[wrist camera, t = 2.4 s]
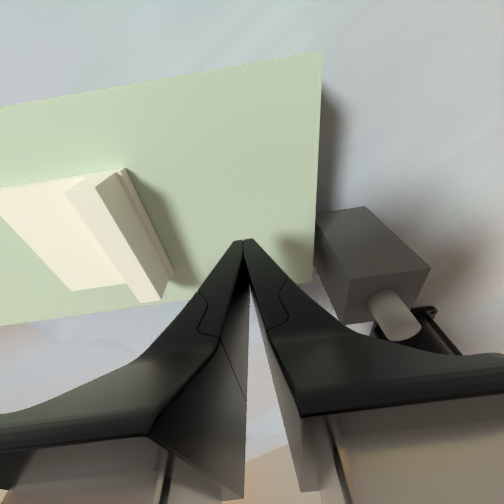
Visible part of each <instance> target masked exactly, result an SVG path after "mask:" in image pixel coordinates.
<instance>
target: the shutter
mask: <svg viewBox="0 0 504 504" xmlns="http://www.w3.org/2000/svg"><path fill="white" fill-rule="evenodd" d="M0 216H1V217H2V218H3V219H4V220H5V221H6V222H7V223H8V224H9V225H10V226H11V227H12V228H13V230H14V231H15V232H16V233H17V234H18V235H19V236H20V237H21V238H22V239H23V240H24V241H25V242H26V243H27V244H28V245H29V247H30V248H31V249H32V250H33V251H34V252H35V253H36V254H37V255H38V256H39V257H40V258H41V259H42V260H43V261H44V262H45V264H46V265H47V266H48V267H49V268H50V269H51V270H52V271H53V272H54V273H55V274H56V275H57V276H58V277H59V278H60V279H61V281H62V282H63V283H64V284H65V285H66V286H67V287H68V288H69V289H70V290H71V291H77V290H84V289H91V288H98V287H105V286H112V285H119V284H126V283H127V285H128V286H129V288H130V289H131V291H132V292H133V294H134V295H135V296H136V298H137V299H138V301H139V302H140V303H145V302H152V301H159V300H162V297H163V295H164V292H165V289H166V286H167V283H168V280H169V277H173V274H174V269H173V267H172V265H171V263H170V261H169V259H168V257H167V255H166V253H165V251H164V249H163V246H162V244H161V242H160V240H159V238H158V236H157V234H156V232H155V230H154V228H153V226H152V224H151V221H150V219H149V217H148V215H147V213H146V211H145V209H144V207H143V205H142V203H141V201H140V198H139V196H138V194H137V192H136V190H135V188H134V186H133V184H132V182H131V180H130V178H129V176H128V173H127V171H126V169H125V168H120V169H114V170H108V171H101V172H95V173H89V174H83V175H77V176H71V177H64V178H58V179H52V180H46V181H40V182H34V183H27V184H21V185H15V186H9V187H3V188H0Z"/></svg>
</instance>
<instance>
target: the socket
mask: <svg viewBox="0 0 504 504" xmlns="http://www.w3.org/2000/svg"><path fill="white" fill-rule="evenodd" d="M322 65H323V51H318V52H312V53H307V54H301V55H295V56H289V57H284V58H278V59H272V60H266V61H261V62H255V63H249V64H244V65H238V66H232V67H226V68H221V69H215V70H209V71H203V72H198V73H192V74H186V75H180V76H175V77H169V78H163V79H157V80H152V81H146V82H140V83H135V84H129V85H123V86H117V87H112V88H106V89H100V90H94V91H89V92H83V93H77V94H71V95H66V96H60V97H54V98H48V99H43V100H37V101H31V102H26V103H20V104H14V105H8V106H3V107H0V188H3V187H9V186H15V185H21V184H27V183H34V182H40V181H46V180H52V179H58V178H64V177H71V176H77V175H83V174H89V173H95V172H101V171H108V170H114V169H120V168H125V169H126V171H127V173H128V176H129V178H130V180H131V182H132V184H133V186H134V188H135V190H136V192H137V194H138V196H139V198H140V201H141V203H142V205H143V207H144V209H145V211H146V213H147V215H148V217H149V219H150V221H151V224H152V226H153V228H154V230H155V232H156V234H157V236H158V238H159V240H160V242H161V244H162V246H163V249H164V251H165V253H166V255H167V257H168V259H169V261H170V263H171V265H172V267H173V269H174V274H173V277H169V280H168V283H167V286H166V289H165V292H164V295H163V297H162V300H159V301H152V302H145V303H140V302H139V301H138V299H137V298H136V296H135V295H134V294H133V292H132V291H131V289H130V288H129V286H128V285H127V283H126V284H119V285H112V286H105V287H98V288H91V289H84V290H77V291H71V290H70V289H69V288H68V287H67V286H66V285H65V284H64V283H63V282H62V281H61V279H60V278H59V277H58V276H57V275H56V274H55V273H54V272H53V271H52V270H51V269H50V268H49V267H48V266H47V265H46V264H45V262H44V261H43V260H42V259H41V258H40V257H39V256H38V255H37V254H36V253H35V252H34V251H33V250H32V249H31V248H30V247H29V245H28V244H27V243H26V242H25V241H24V240H23V239H22V238H21V237H20V236H19V235H18V234H17V233H16V232H15V231H14V230H13V228H12V227H11V226H10V225H9V224H8V223H7V222H6V221H5V220H4V219H3V218H2V217H1V216H0V326H4V325H12V324H19V323H26V322H33V321H40V320H47V319H54V318H61V317H68V316H75V315H83V314H90V313H97V312H104V311H111V310H118V309H125V308H132V307H139V306H146V305H153V304H161V303H168V302H175V301H182V300H189V299H191V298H192V297H193V295H194V294H195V293H196V292H198V291H197V290H198V289H199V287H200V286H201V285H202V283H203V282H204V281H205V279H206V278H207V276H208V275H209V274H210V272H211V271H212V270H213V268H214V267H215V266H216V264H217V263H218V261H219V260H220V259H221V257H222V256H223V255H224V253H225V252H226V250H227V249H228V248H229V246H230V245H231V244H232V242H233V241H236V240H243V241H244V239H249V238H253V239H254V240H255V241H256V242H257V243H258V244H259V245H260V246H261V247H262V248H263V249H264V250H265V252H266V253H267V254H268V255H269V256H270V257H271V258H272V259H273V260H274V261H275V262H276V263H277V264H278V265H279V267H280V268H281V269H282V270H283V271H284V272H285V273H286V274H287V275H288V276H289V277H290V278H291V279H292V280H293V281H294V283H295V284H302V283H310V282H312V277H313V256H314V235H315V213H316V192H317V171H318V150H319V129H320V108H321V86H322ZM250 291H251V289H250Z"/></svg>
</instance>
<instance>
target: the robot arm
mask: <svg viewBox="0 0 504 504" xmlns="http://www.w3.org/2000/svg"><path fill="white" fill-rule="evenodd" d="M250 289H251V294H252V298H253V302H254V306H255V310H256V314H257V318H258V322H259V326H260V330H261V334H262V338H263V342H264V346H265V350H266V354H267V358H268V362H269V366H270V370H271V374H272V378H273V382H274V386H275V390H276V394H277V398H278V402H279V406H280V410H281V414H282V418H283V422H284V426H285V430H286V434H287V438H288V442H289V446H290V450H291V455H292V459H293V463H294V466H295V471H296V474H297V478H298V483H299V487H300V491H301V492H310V491H320V496H321V501H322V504H504V354H501V353H483V354H475V355H462V353H461V352H460V351H459V350H458V349H457V348H456V346H455V345H454V344H453V343H452V342H451V340H450V339H449V338H448V337H447V336H446V335H445V333H444V332H443V331H442V330H441V329H440V327H439V326H438V325H437V324H436V323H435V322H434V320H433V318H434V317H435V315H436V313H437V312H438V310H437V309H436V308H435V307H426V308H419V309H411V310H410V312H411V313H412V314H413V316H414V317H415V318H416V319H417V321H418V322H419V323H420V325H421V329H420V331H419V332H418V333H417V334H416V335H414V336H412V337H410V338H408V339H405V340H401V341H391V340H389V339H387V337H386V336H385V334H384V332H383V331H382V329H381V327H380V326H379V324H378V322H377V321H375V323H374V325H373V328H372V331H371V334H370V336H367V335H363V334H360V333H357V332H355V331H353V330H351V329H350V328H348V327H346V326H345V325H344V324H342V323H341V322H340V321H338V320H337V319H336V318H335V317H334V316H332V315H331V314H330V313H329V312H327V311H326V310H325V309H324V308H322V307H321V306H320V305H319V304H318V303H316V302H315V301H314V300H313V299H312V298H310V297H309V296H308V295H307V294H306V293H305V292H303V291H302V290H301V289H300V288H299V287H298V286H297V285H296V284H295V283H294V281H293V280H292V279H291V278H290V277H289V276H288V275H287V274H286V273H285V272H284V271H283V270H282V269H281V268H280V267H279V265H278V264H277V263H276V262H275V261H274V260H273V259H272V258H271V257H270V256H269V255H268V254H267V253H266V252H265V250H264V249H263V248H262V247H261V246H260V245H259V244H258V243H257V242H256V241H255V240H254V239H253V238H249V239H244V241H243V240H236V241H233V242H232V244H231V245H230V246H229V248H228V249H227V250H226V252H225V253H224V255H223V256H222V257H221V259H220V260H219V261H218V263H217V264H216V266H215V267H214V268H213V270H212V271H211V272H210V274H209V275H208V276H207V278H206V279H205V281H204V282H203V283H202V285H201V286H200V287H199V289H198V290H197V291H198V292H196V293H195V294H194V295H193V297H192V298H191V300H190V301H189V302H188V303H187V305H186V306H185V307H184V309H183V310H182V311H181V312H180V313H179V314H178V315H177V317H176V318H175V319H174V320H173V321H172V322H171V323H170V324H169V326H168V327H167V328H166V329H165V330H164V331H163V332H162V333H161V334H160V336H159V337H158V338H157V339H156V340H155V341H154V342H153V343H152V344H151V345H150V347H149V348H148V349H147V350H146V351H145V352H144V353H143V354H141V355H140V356H139V357H138V358H137V359H135V360H134V361H132V362H130V363H129V364H127V365H125V366H123V367H121V368H119V369H116V370H114V371H112V372H110V373H108V374H105V375H103V376H101V377H99V378H97V379H94V380H93V381H90V382H88V383H86V384H84V385H81V386H79V387H77V388H75V389H73V390H70V391H68V392H66V393H64V394H62V395H59V396H57V397H55V398H53V399H51V400H48V401H46V402H44V403H41V404H38V405H36V406H33V407H30V408H27V409H24V410H21V411H17V412H12V413H6V414H0V489H4V490H8V492H7V493H6V495H5V497H4V499H3V501H2V502H1V504H221V501H227V500H235V499H243V498H244V473H245V443H246V410H247V404H246V402H247V375H248V341H249V308H250Z"/></svg>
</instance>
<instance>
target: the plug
mask: <svg viewBox="0 0 504 504" xmlns="http://www.w3.org/2000/svg"><path fill="white" fill-rule="evenodd" d="M313 263H314V265H315V267H316V269H317V272H318V274H319V276H320V278H321V281H322V283H323V285H324V287H325V290H326V292H327V294H328V296H329V299H330V301H331V303H332V305H333V308H334V310H335V312H336V314H337V317H338V319H339V321H340V322H341V323H342V324H344V325H348V324H356V323H363V322H371V321H377V322H378V324H379V326H380V327H381V329H382V331H383V332H384V334H385V336H386V337H387V339H389V340H391V341H401V340H405V339H408V338H410V337H412V336H414V335H416V334H417V333H418V332H419V331H420V329H421V325H420V323H419V322H418V321H417V319H416V318H415V317H414V316H413V314H412V313H411V312H410V310H411V308H412V306H413V304H414V302H415V300H416V298H417V296H418V294H419V292H420V290H421V288H422V286H423V284H424V281H425V279H426V277H427V275H428V273H429V271H430V269H431V268H430V267H429V266H428V265H427V264H426V263H425V262H424V261H423V260H422V259H421V258H420V257H419V256H418V255H416V254H415V253H414V252H413V251H412V250H411V249H410V248H409V247H408V246H407V245H406V244H405V243H404V242H402V241H401V240H400V239H399V238H398V237H397V236H396V235H395V234H394V233H393V232H392V231H391V230H390V229H388V228H387V227H386V226H385V225H384V224H383V223H382V222H381V221H380V220H379V219H378V218H377V217H376V216H374V215H373V214H372V213H371V212H370V211H369V210H368V209H367V208H366V207H365V206H364V207H358V208H351V209H344V210H338V211H331V212H324V213H318V214H315V235H314V256H313Z"/></svg>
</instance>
